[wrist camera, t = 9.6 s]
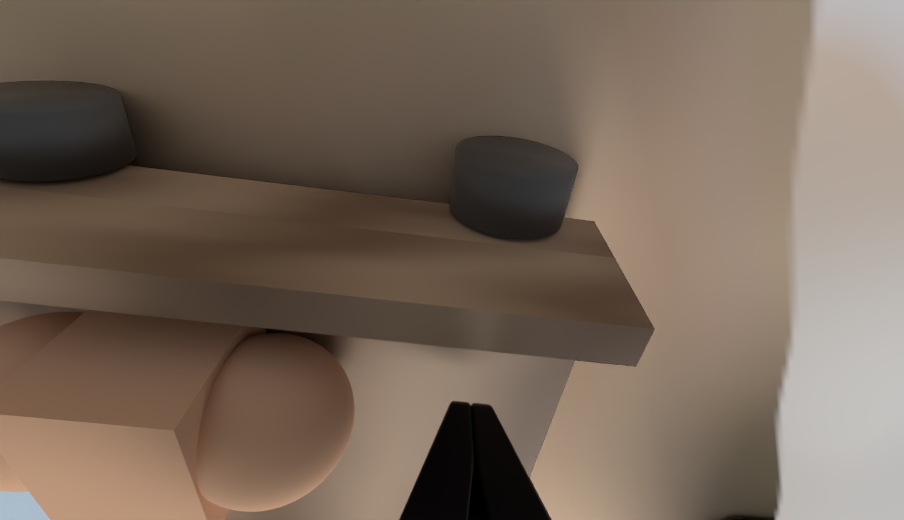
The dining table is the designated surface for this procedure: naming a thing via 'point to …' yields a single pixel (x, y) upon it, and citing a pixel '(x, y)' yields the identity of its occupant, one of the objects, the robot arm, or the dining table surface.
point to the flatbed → (325, 277)
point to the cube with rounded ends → (165, 416)
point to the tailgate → (20, 507)
